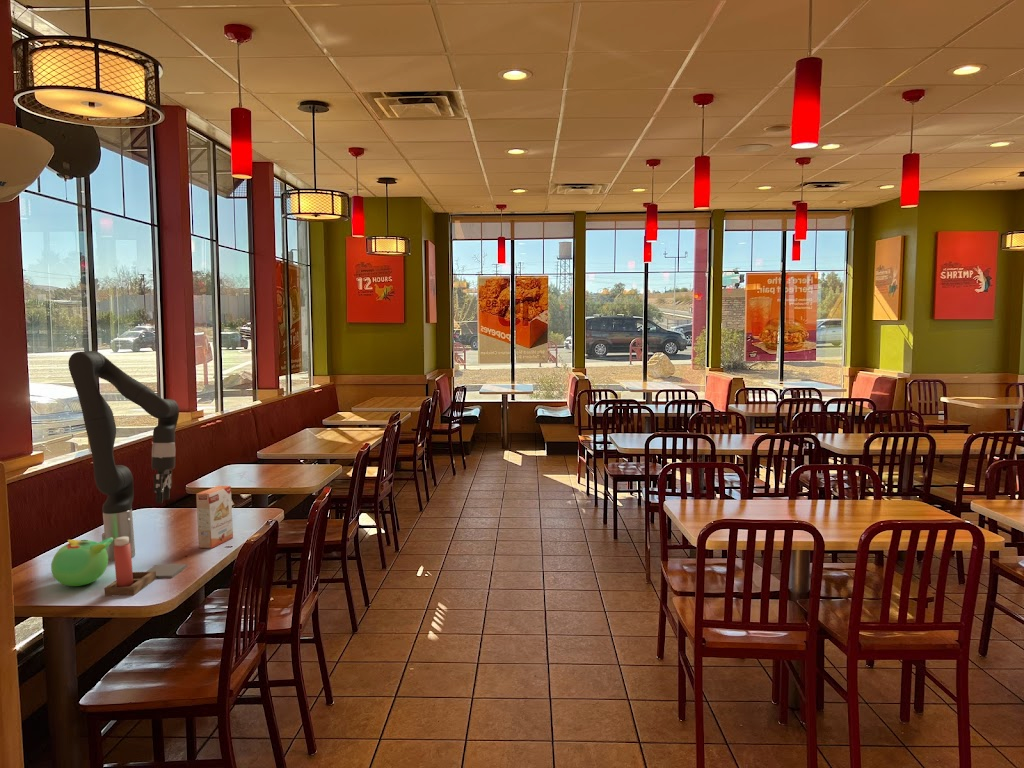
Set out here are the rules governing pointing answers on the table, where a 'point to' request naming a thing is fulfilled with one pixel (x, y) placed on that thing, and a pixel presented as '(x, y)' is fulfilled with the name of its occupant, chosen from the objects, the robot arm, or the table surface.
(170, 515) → the table surface
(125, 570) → the pepper mill
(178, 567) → the slate tile
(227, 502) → the cracker box
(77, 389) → the robot arm
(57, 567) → the toy bird
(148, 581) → the caddy
